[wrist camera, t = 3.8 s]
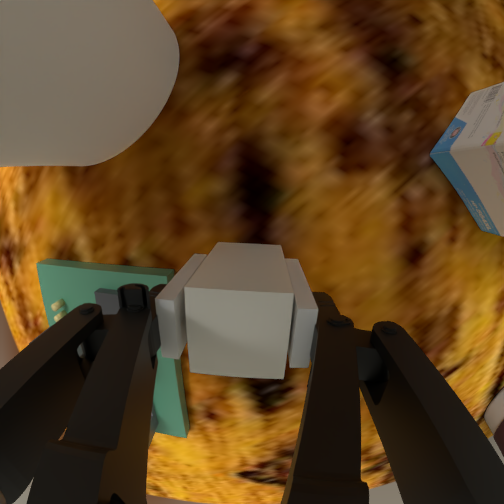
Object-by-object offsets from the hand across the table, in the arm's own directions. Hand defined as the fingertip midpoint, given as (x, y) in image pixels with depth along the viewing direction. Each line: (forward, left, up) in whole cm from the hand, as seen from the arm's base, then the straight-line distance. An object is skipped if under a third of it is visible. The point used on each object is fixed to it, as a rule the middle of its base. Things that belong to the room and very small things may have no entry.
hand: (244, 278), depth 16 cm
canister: (-14, -12, -2) cm, 18 cm away
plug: (0, 0, -2) cm, 2 cm away
